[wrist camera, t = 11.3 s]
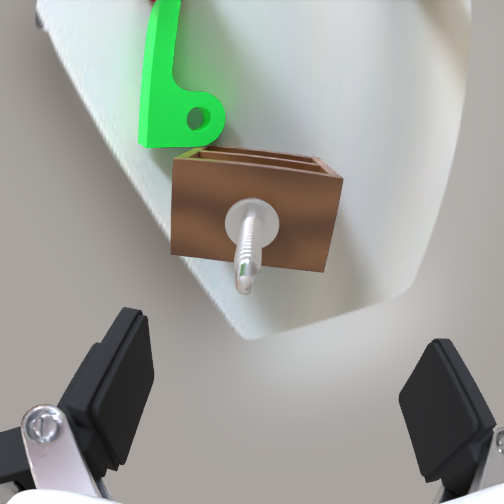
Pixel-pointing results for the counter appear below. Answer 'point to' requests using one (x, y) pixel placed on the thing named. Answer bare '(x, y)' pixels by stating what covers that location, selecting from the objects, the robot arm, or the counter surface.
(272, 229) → the screw
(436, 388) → the robot arm
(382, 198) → the counter surface
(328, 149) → the counter surface
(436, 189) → the counter surface
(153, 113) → the bracket
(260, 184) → the shelf
